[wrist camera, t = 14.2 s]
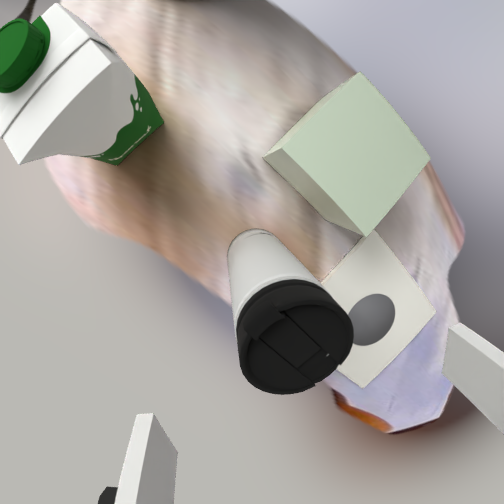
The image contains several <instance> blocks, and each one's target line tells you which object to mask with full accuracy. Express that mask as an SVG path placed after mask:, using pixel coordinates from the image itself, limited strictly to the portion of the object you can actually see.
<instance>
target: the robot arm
mask: <svg viewBox="0 0 504 504" xmlns="http://www.w3.org/2000/svg"><path fill="white" fill-rule="evenodd" d="M442 374H443V375H444V376H445V377H446V378H447V379H448V380H449V381H450V382H451V383H452V384H453V385H454V386H455V387H456V388H458V389H459V390H460V391H461V392H462V393H463V394H464V395H465V396H466V397H467V398H468V399H469V400H470V401H471V402H472V403H473V404H474V405H475V406H476V407H477V408H478V409H479V410H480V411H481V412H482V413H483V414H484V415H485V416H486V417H487V418H488V419H489V420H490V421H491V422H492V423H493V424H494V425H495V426H496V427H497V428H498V429H499V430H500V431H501V432H502V433H503V434H504V352H502V351H501V350H499V349H498V348H497V347H495V346H494V345H492V344H491V343H489V342H488V341H487V340H485V339H484V338H482V337H481V336H479V335H478V334H476V333H475V332H473V331H472V330H471V329H469V328H467V327H466V326H465V325H463V324H462V323H460V322H459V323H458V324H456V325H454V326H452V327H450V328H449V330H448V338H447V345H446V352H445V358H444V364H443V369H442ZM177 454H178V452H177V450H176V449H175V447H174V446H173V444H172V443H171V441H170V439H169V438H168V436H167V435H166V433H165V431H164V430H163V428H162V427H161V425H160V423H159V422H158V420H157V418H156V416H155V415H154V413H148V414H137V416H136V420H135V423H134V427H133V430H132V434H131V438H130V442H129V446H128V449H127V453H126V457H125V461H124V465H123V469H122V473H121V478H120V481H119V486H118V488H116V487H106V489H105V490H104V491H103V493H102V494H101V495H100V497H99V501H98V504H174V491H175V490H174V489H175V478H176V466H177Z"/></svg>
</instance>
